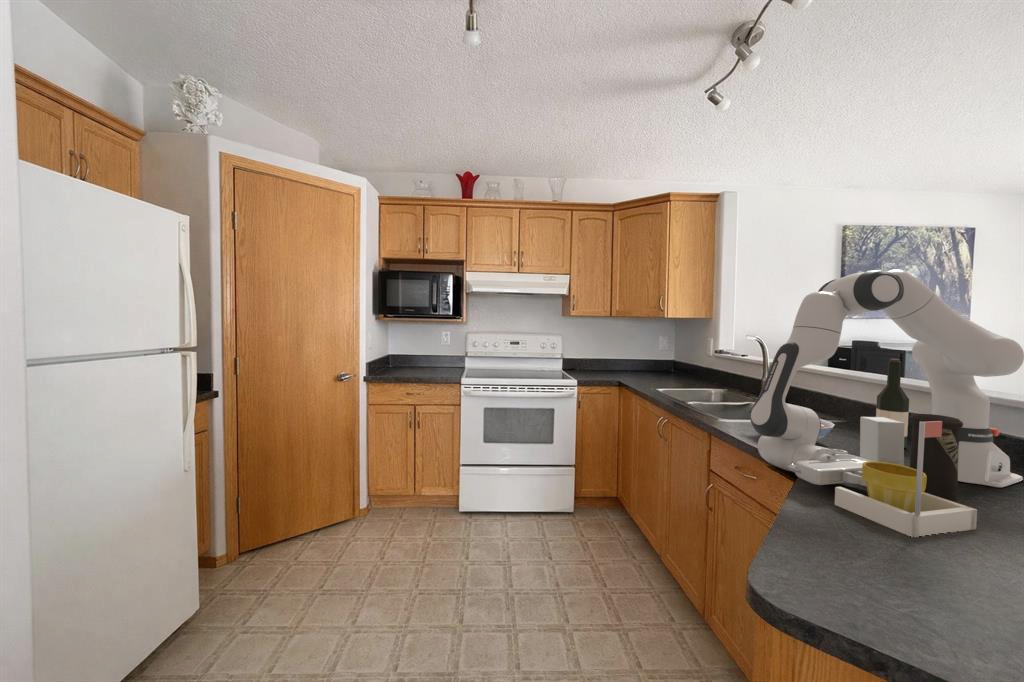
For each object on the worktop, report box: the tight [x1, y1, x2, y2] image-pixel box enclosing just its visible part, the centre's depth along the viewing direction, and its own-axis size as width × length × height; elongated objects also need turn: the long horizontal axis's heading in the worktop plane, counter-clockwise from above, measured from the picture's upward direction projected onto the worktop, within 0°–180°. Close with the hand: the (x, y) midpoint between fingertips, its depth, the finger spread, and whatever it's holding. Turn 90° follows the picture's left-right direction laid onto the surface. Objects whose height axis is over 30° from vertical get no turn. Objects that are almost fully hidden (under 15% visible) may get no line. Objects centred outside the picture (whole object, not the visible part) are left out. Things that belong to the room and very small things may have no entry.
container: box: [908, 413, 963, 503], centre depth 102 cm, size 9×9×20 cm
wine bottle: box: [875, 358, 910, 448], centre depth 149 cm, size 8×8×30 cm
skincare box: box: [859, 416, 905, 466], centre depth 118 cm, size 8×7×16 cm
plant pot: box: [862, 461, 927, 513], centre depth 93 cm, size 10×10×10 cm
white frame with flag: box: [834, 421, 978, 538], centre depth 92 cm, size 17×16×22 cm
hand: (872, 482), depth 98 cm, fingers closed
